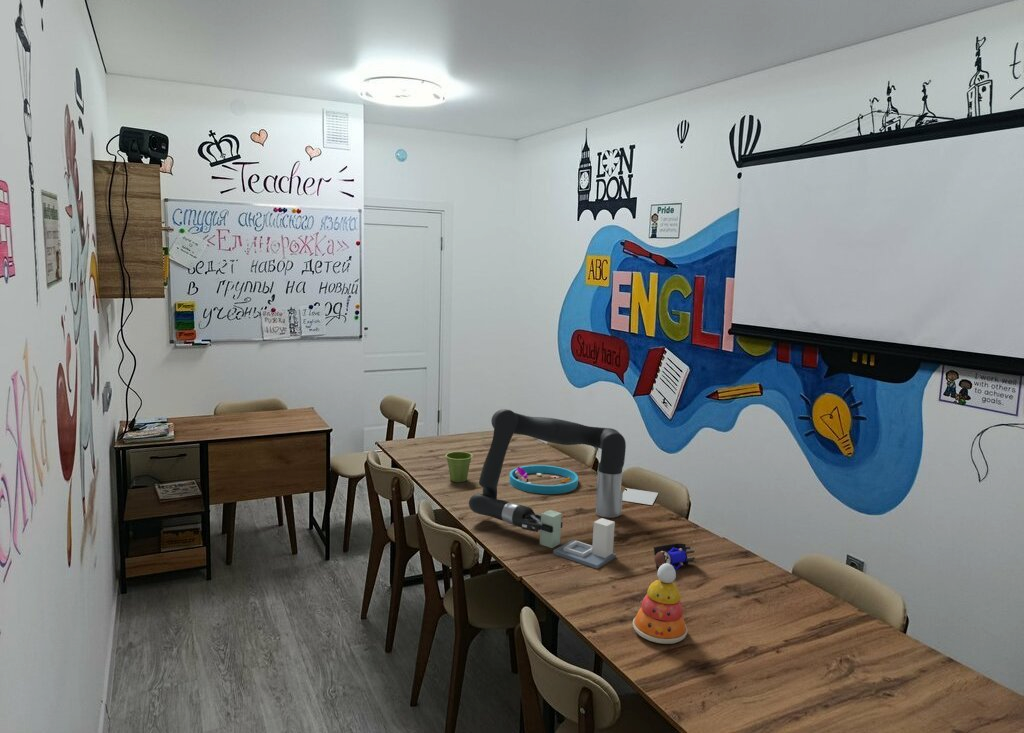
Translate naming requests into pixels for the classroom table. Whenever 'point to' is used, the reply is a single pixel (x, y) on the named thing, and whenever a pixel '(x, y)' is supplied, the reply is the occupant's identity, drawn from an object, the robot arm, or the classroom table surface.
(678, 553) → the character figurine
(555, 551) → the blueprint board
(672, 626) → the stacking toy
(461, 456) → the plant pot
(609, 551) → the standing pillar
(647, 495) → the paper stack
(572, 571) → the classroom table surface
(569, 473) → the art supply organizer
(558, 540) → the sage pillar
